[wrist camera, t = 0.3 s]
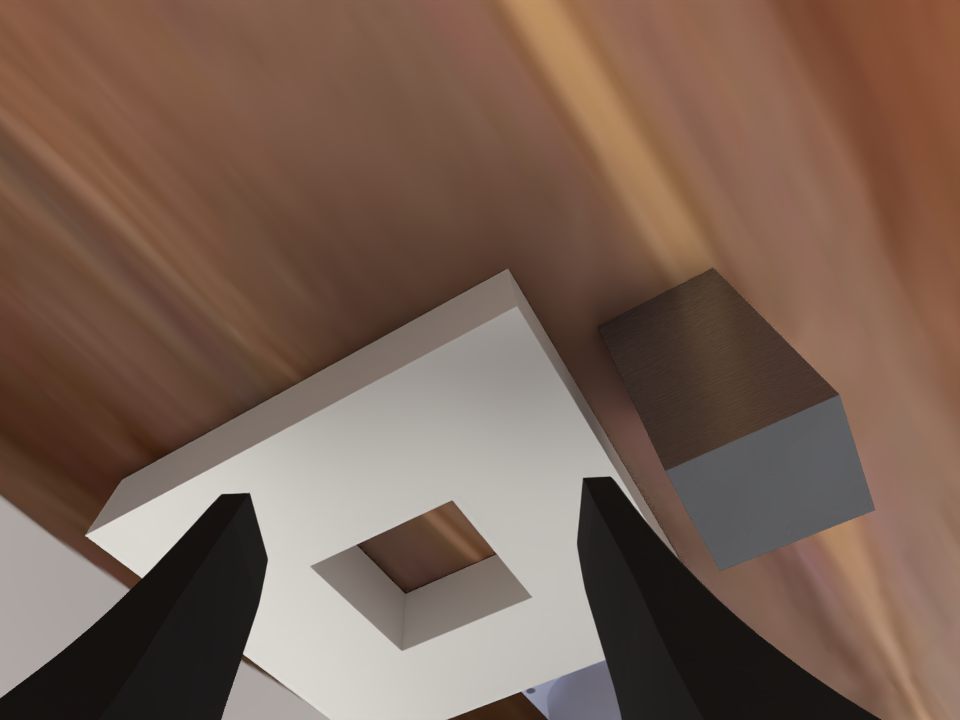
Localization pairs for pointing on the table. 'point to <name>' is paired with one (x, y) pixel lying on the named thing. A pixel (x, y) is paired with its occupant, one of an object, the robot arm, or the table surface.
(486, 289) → the hole board
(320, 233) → the table surface
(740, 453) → the square peg
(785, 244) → the table surface
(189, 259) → the table surface
